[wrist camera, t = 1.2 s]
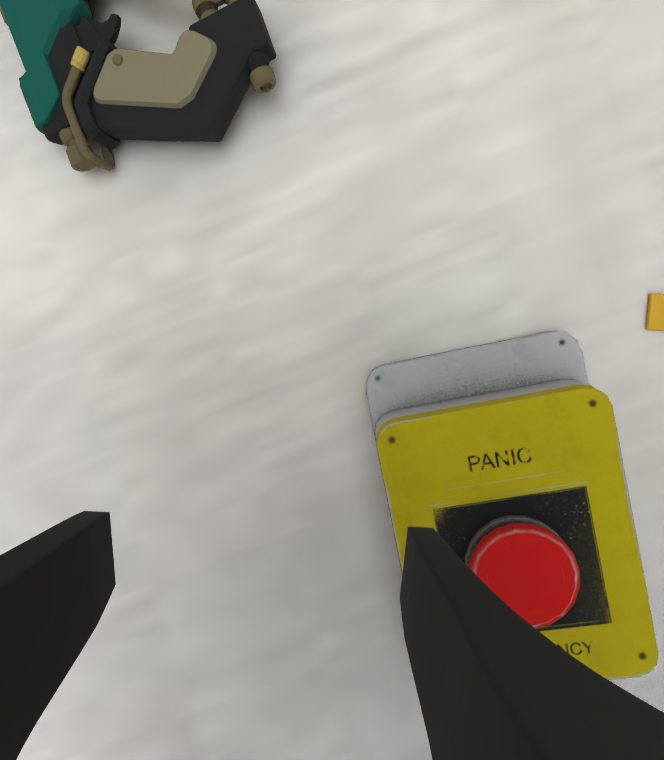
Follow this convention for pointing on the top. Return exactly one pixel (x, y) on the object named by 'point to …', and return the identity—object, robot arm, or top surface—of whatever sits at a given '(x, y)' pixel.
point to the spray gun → (135, 75)
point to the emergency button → (521, 488)
